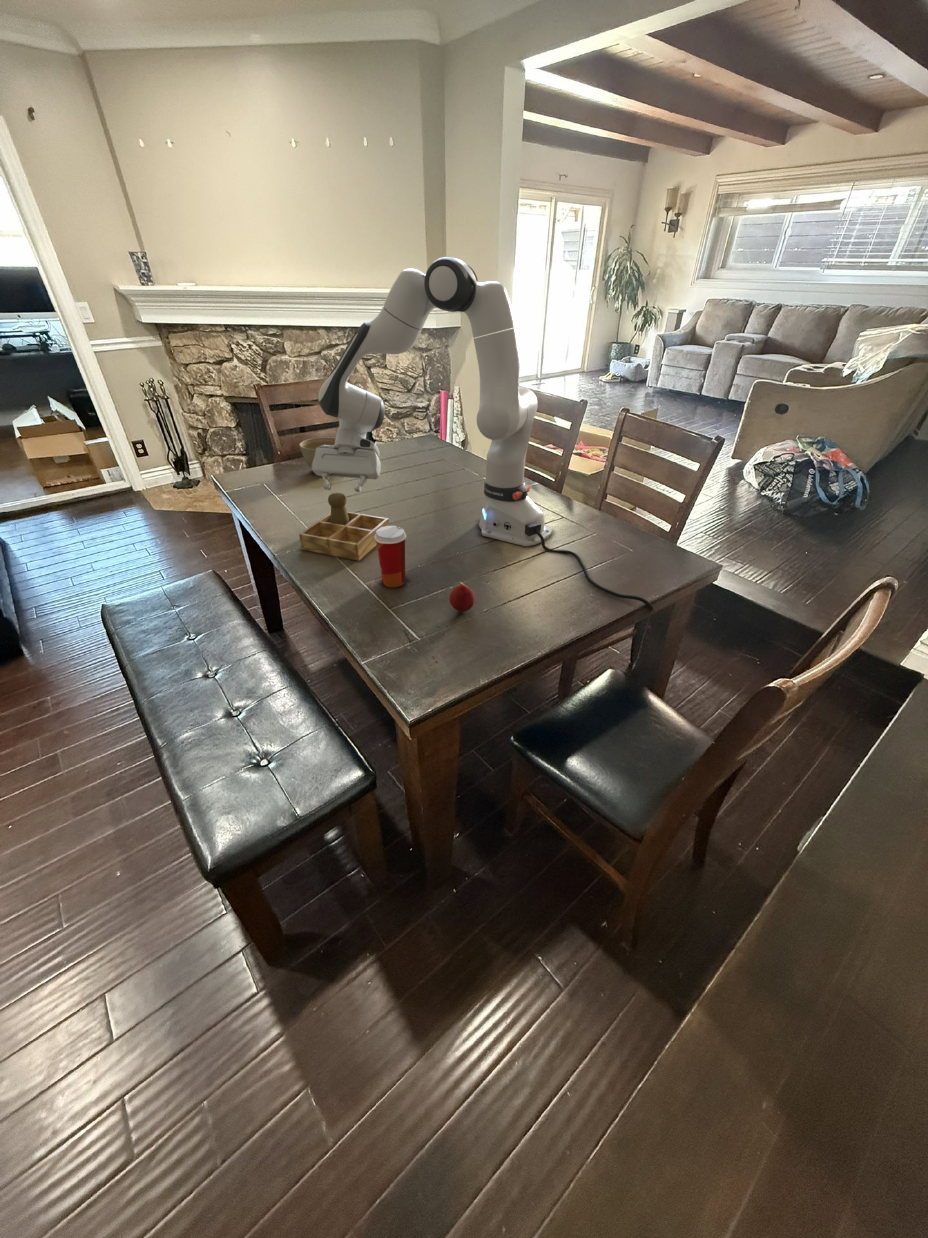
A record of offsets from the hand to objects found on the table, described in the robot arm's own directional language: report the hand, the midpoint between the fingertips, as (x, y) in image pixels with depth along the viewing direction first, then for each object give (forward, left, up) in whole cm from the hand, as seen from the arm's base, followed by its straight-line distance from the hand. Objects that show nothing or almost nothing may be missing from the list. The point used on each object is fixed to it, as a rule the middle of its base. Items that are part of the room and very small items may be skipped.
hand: (342, 489), depth 150 cm
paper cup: (-34, +13, -12) cm, 39 cm away
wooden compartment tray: (-7, +6, -12) cm, 15 cm away
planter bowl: (+46, -27, -12) cm, 54 cm away
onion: (-56, +12, -12) cm, 59 cm away
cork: (-2, +4, -11) cm, 12 cm away
